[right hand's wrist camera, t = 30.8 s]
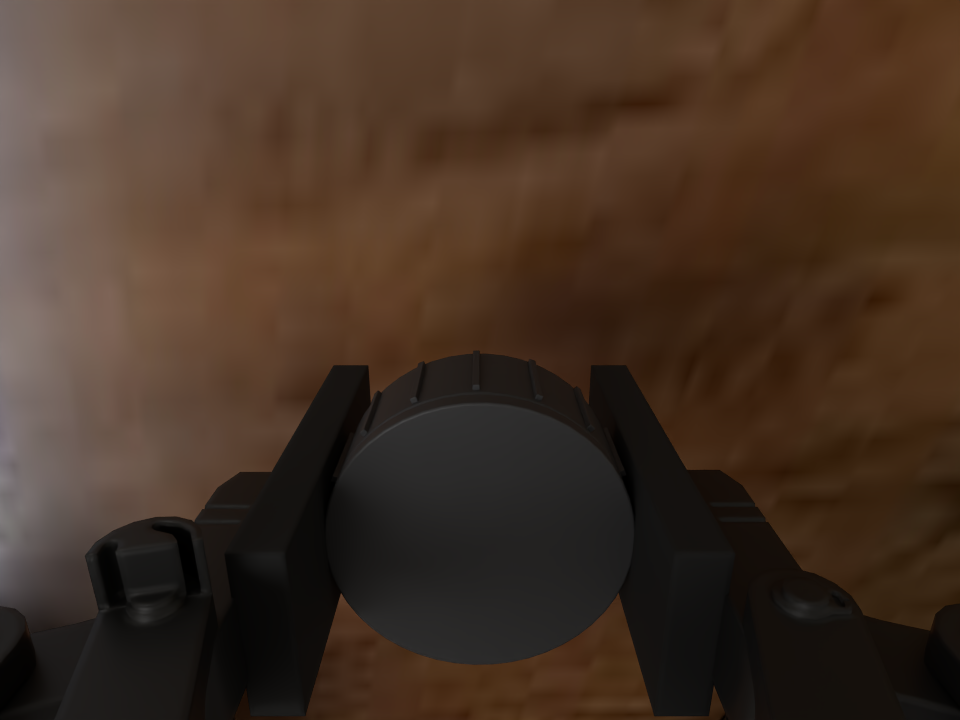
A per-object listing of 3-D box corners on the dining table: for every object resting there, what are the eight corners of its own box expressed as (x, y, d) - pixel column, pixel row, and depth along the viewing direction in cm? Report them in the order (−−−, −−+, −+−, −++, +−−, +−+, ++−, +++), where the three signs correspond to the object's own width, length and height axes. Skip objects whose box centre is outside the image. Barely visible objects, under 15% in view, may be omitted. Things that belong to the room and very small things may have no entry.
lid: (387, 602, 13) (370, 689, 11) (312, 381, 12) (277, 438, 10) (629, 558, 13) (657, 640, 11) (589, 323, 11) (613, 369, 9)
